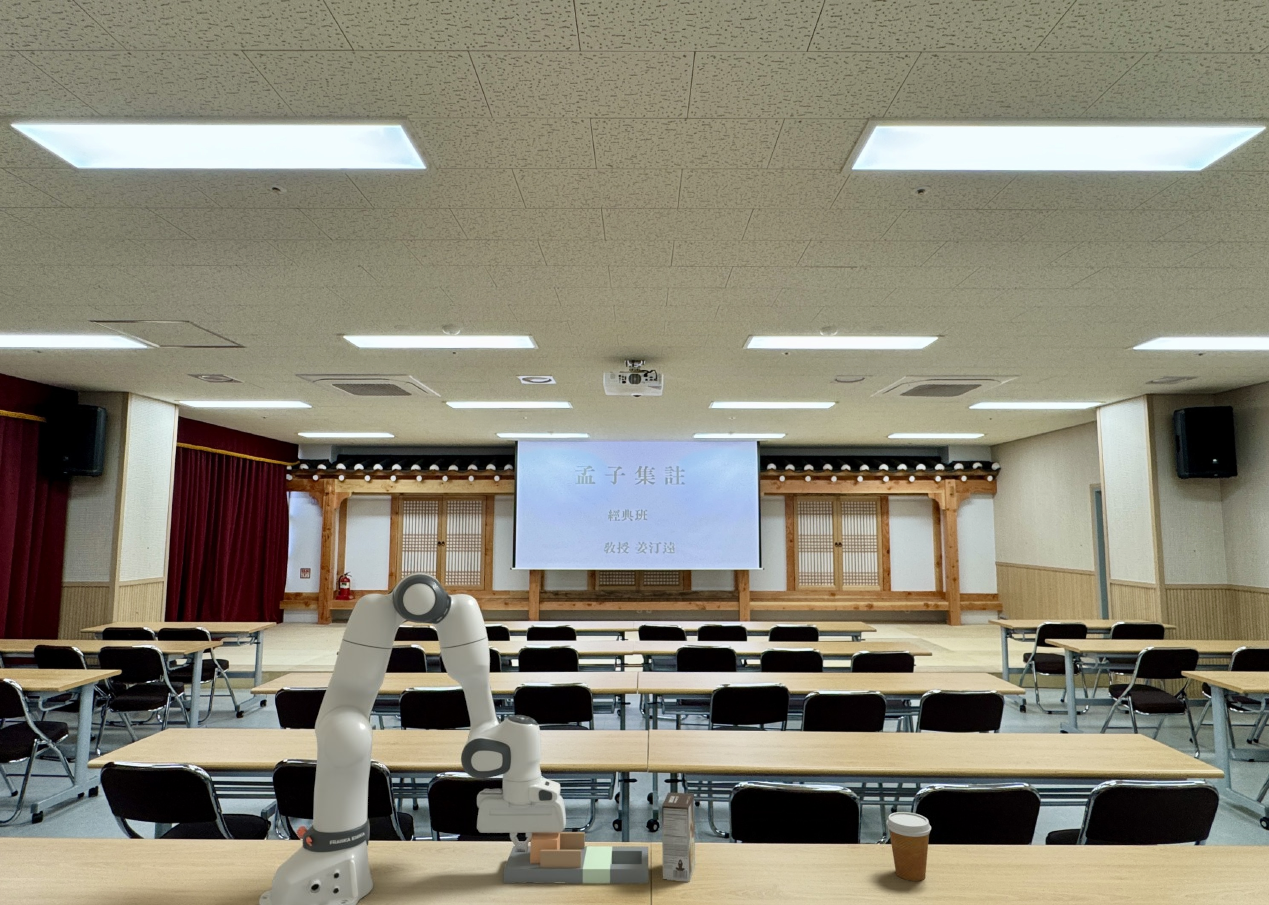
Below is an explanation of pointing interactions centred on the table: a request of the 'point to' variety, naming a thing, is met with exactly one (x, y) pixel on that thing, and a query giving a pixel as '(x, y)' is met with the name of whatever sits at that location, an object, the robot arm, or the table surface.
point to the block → (543, 844)
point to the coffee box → (678, 836)
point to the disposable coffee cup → (909, 844)
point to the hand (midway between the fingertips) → (521, 851)
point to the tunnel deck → (580, 863)
